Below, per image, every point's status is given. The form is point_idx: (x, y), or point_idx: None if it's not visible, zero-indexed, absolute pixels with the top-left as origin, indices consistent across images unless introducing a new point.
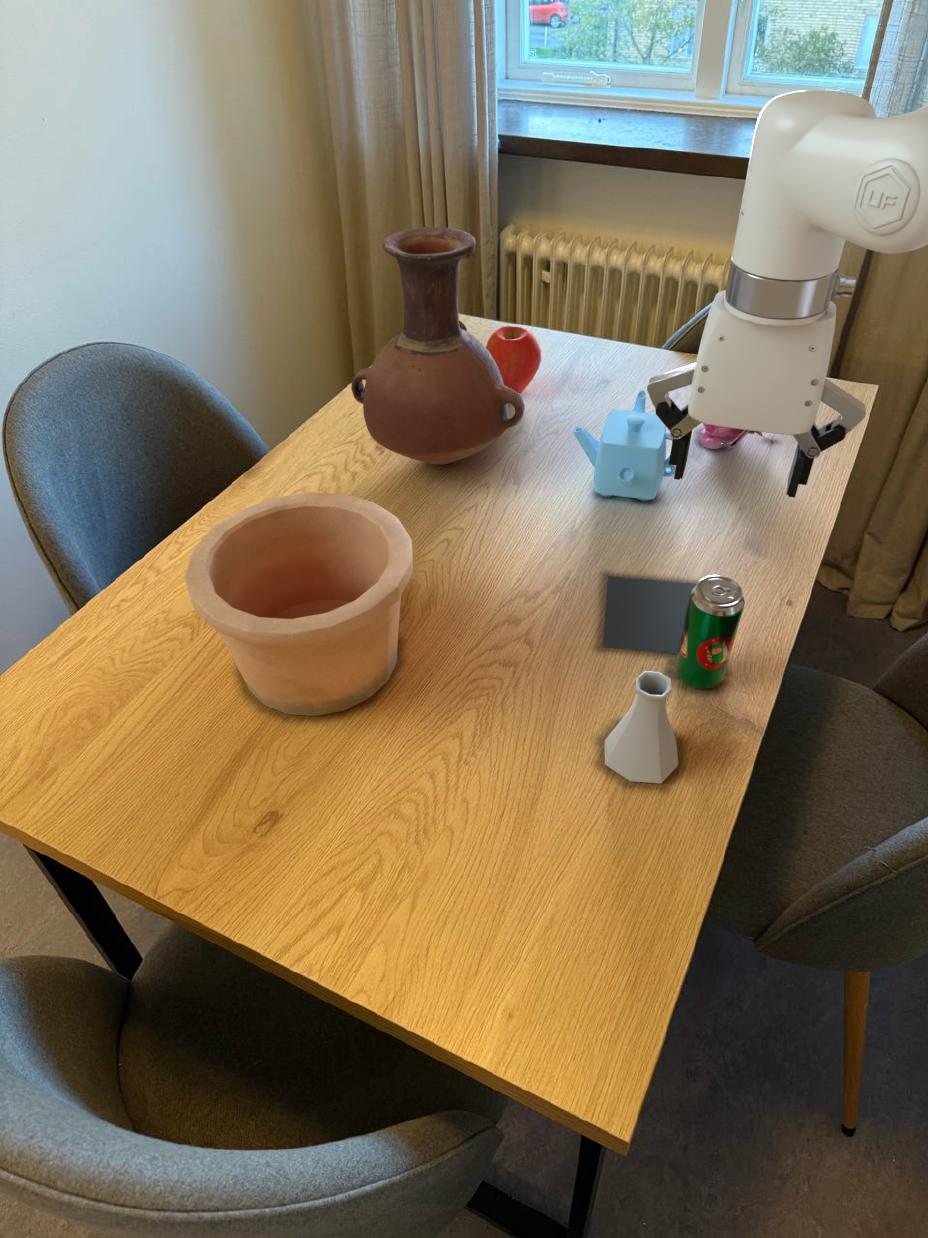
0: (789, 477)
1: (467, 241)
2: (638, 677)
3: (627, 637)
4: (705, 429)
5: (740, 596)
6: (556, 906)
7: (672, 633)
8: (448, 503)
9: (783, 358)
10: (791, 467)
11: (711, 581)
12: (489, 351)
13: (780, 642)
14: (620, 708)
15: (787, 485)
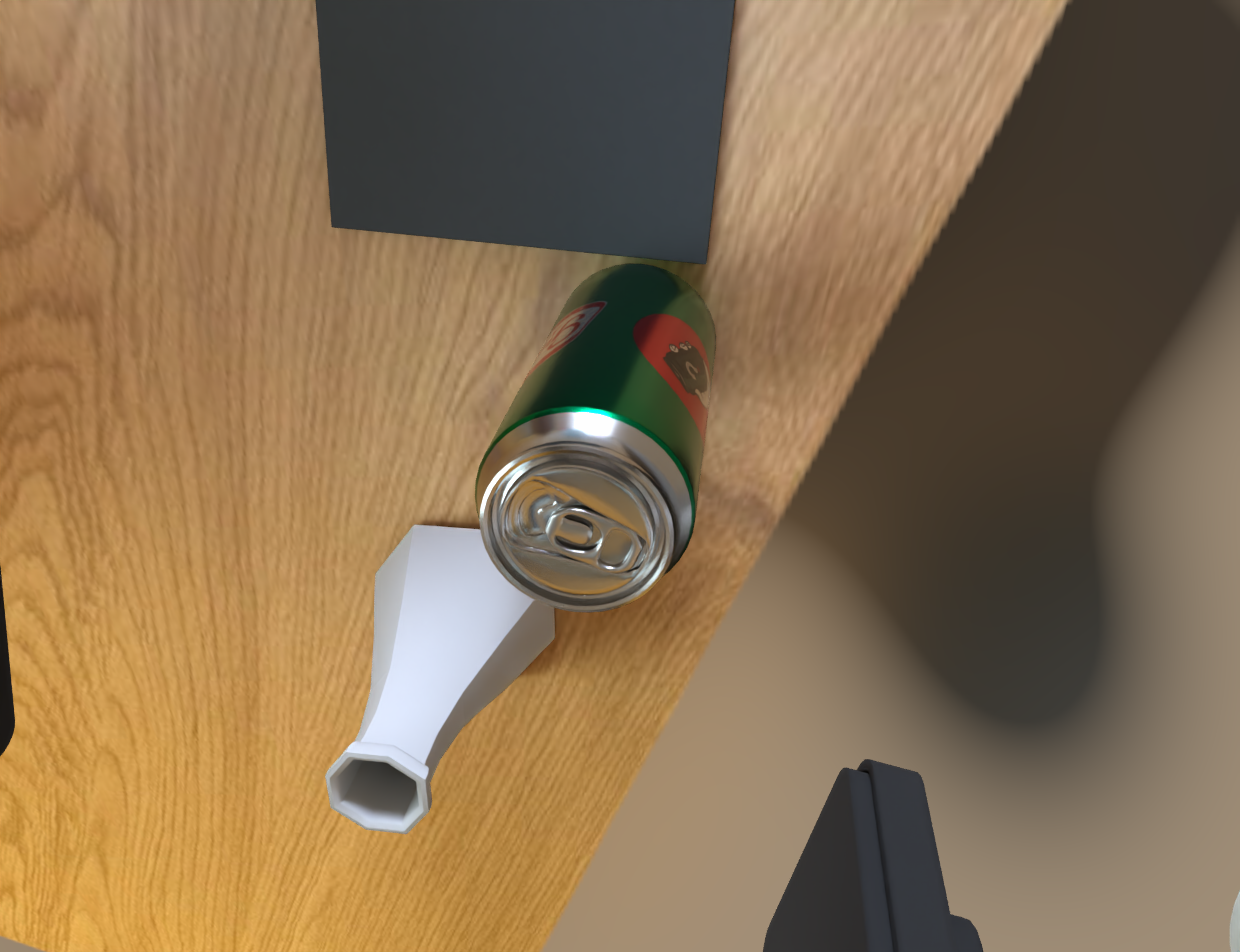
0: (816, 888)
1: None
2: (331, 774)
3: (408, 177)
4: None
5: (661, 563)
6: (333, 878)
7: (564, 145)
8: None
9: None
10: (844, 888)
11: (545, 483)
12: None
13: (960, 163)
14: (409, 465)
15: (805, 850)
